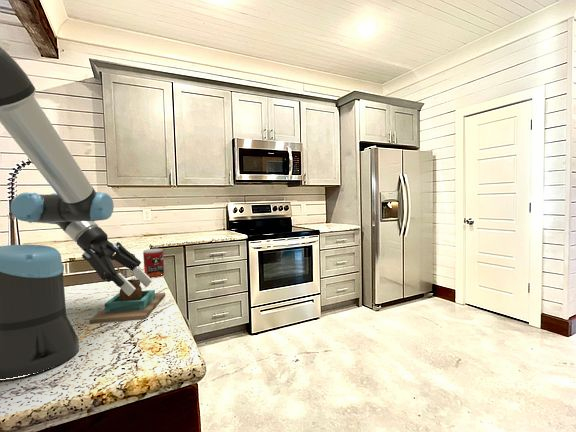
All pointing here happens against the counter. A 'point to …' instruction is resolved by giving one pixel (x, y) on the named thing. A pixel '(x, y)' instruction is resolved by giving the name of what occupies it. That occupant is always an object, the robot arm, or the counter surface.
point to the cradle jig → (128, 308)
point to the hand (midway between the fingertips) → (141, 287)
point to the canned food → (153, 262)
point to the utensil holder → (137, 292)
